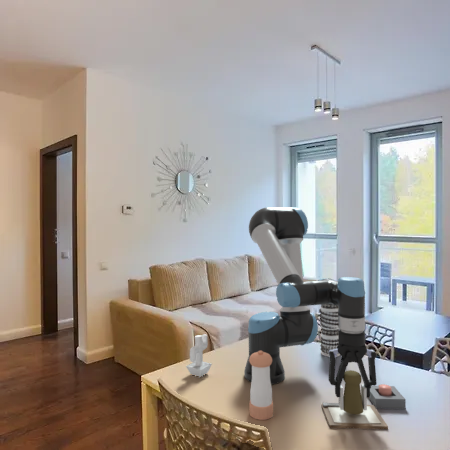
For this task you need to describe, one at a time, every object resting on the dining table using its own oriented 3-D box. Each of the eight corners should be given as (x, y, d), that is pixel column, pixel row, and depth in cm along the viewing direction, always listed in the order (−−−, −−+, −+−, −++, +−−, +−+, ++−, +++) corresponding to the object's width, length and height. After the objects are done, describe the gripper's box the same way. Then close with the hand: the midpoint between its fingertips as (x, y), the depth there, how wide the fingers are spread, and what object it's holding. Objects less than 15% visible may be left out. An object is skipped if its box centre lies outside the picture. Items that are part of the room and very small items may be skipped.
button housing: (375, 408, 113) (375, 398, 113) (366, 394, 122) (366, 385, 122) (405, 408, 113) (405, 399, 113) (394, 395, 122) (394, 386, 122)
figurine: (184, 376, 139) (183, 337, 139) (199, 368, 147) (198, 331, 146) (199, 381, 135) (198, 340, 135) (213, 372, 143) (213, 333, 143)
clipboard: (329, 427, 103) (329, 422, 103) (321, 406, 115) (321, 402, 115) (388, 429, 102) (388, 424, 102) (373, 407, 114) (373, 403, 114)
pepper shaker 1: (271, 407, 115) (270, 346, 115) (275, 419, 108) (274, 354, 107) (248, 407, 115) (247, 347, 115) (250, 420, 107) (249, 355, 107)
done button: (381, 397, 116) (381, 389, 116) (377, 391, 119) (376, 384, 119) (393, 397, 115) (393, 389, 115) (389, 391, 119) (388, 384, 119)
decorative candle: (329, 358, 155) (328, 299, 155) (315, 351, 163) (314, 296, 163) (346, 355, 158) (345, 297, 158) (331, 348, 167) (331, 294, 167)
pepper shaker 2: (365, 415, 105) (364, 377, 105) (343, 413, 106) (342, 375, 106) (361, 404, 111) (361, 368, 111) (340, 403, 112) (340, 367, 112)
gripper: (321, 333, 105) (322, 413, 105) (389, 334, 104) (390, 415, 104) (316, 326, 113) (317, 400, 113) (379, 326, 111) (380, 402, 111)
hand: (352, 407), depth 108 cm, fingers closed on pepper shaker 2, 6 cm apart
